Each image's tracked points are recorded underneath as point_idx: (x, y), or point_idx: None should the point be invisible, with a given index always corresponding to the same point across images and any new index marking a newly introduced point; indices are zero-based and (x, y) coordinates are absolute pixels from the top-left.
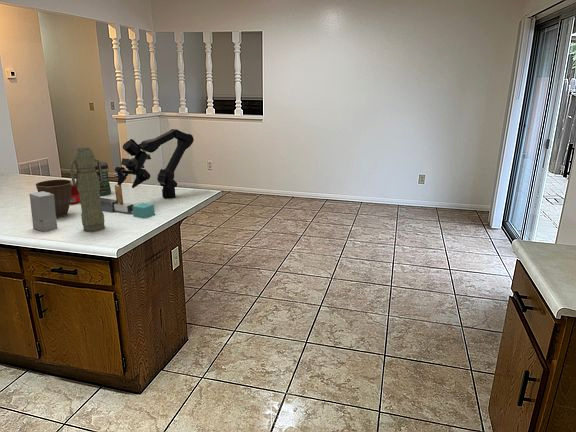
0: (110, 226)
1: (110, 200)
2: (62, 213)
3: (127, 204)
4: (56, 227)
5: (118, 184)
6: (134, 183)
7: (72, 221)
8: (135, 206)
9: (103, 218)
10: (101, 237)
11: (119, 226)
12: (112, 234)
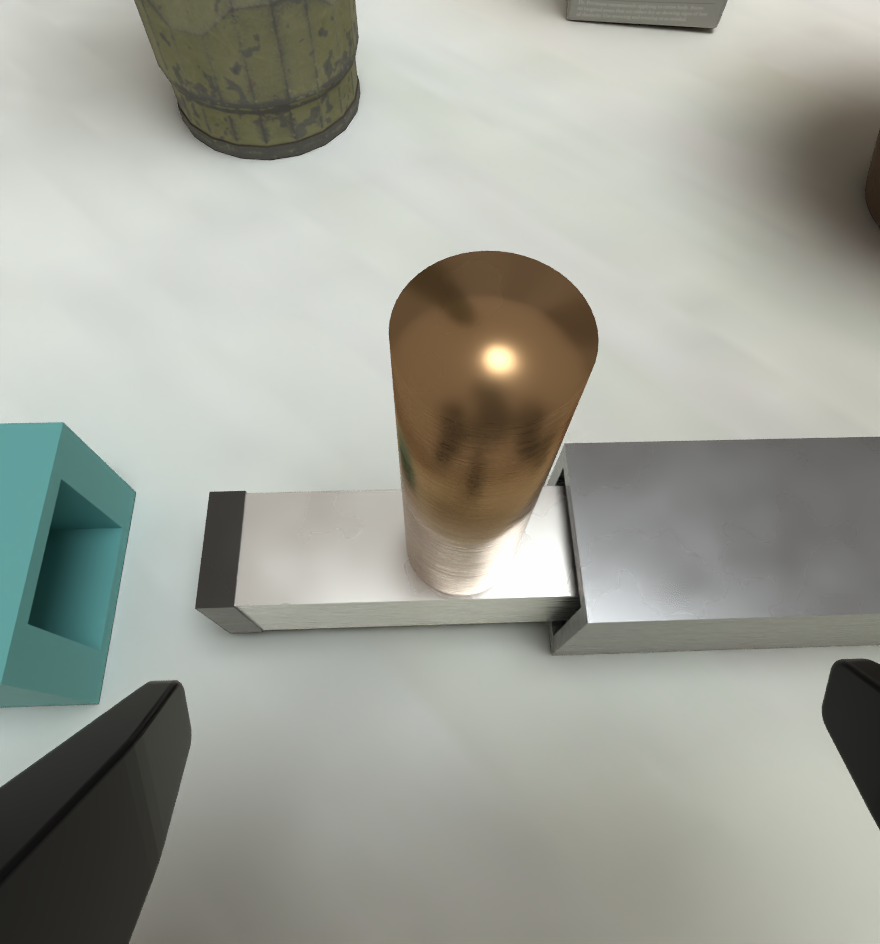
0: (166, 172)
1: (706, 539)
2: (872, 160)
3: (308, 567)
4: (568, 9)
5: (863, 693)
6: (14, 778)
7: (626, 145)
8: (5, 439)
9: (146, 27)
10: (61, 7)
11: (77, 199)
12: (12, 63)
